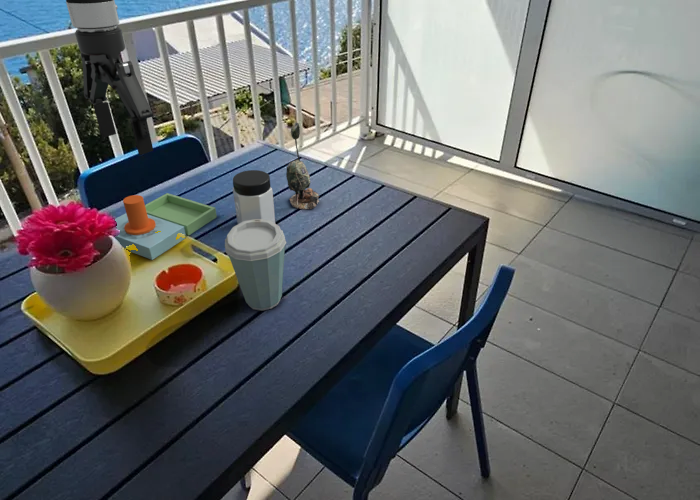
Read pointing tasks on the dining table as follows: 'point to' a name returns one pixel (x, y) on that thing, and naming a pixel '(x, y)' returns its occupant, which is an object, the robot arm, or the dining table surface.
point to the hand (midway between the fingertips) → (127, 143)
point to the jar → (253, 196)
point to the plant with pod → (300, 179)
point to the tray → (181, 212)
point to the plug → (137, 216)
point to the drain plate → (150, 237)
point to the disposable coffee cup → (258, 261)
